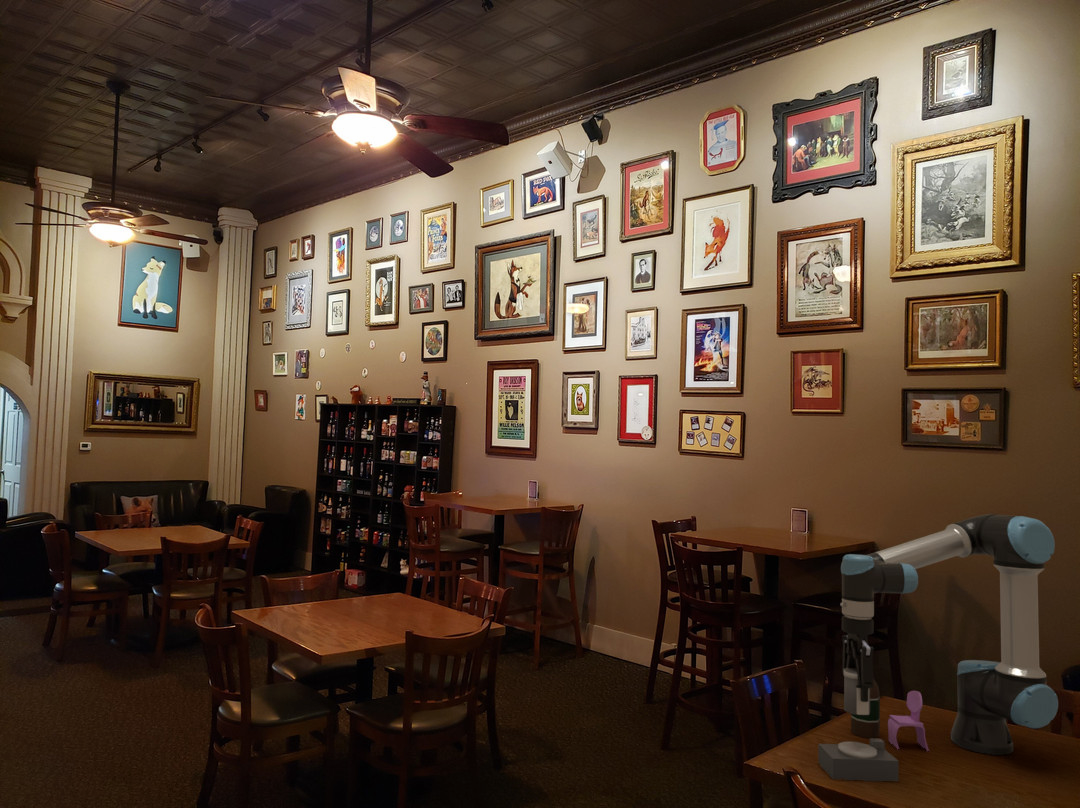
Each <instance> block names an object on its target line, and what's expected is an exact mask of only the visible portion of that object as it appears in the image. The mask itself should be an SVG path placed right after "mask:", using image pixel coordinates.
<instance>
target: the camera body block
mask: <svg viewBox="0 0 1080 808" xmlns="http://www.w3.org/2000/svg"><path fill="white" fill-rule="evenodd" d="M885 743H886V742H885V741H884V740H883V739H882V738H869V744H866V743H863V742H858V741H842V742H839V743H838V744H837V743H835V744H834V743H833V744H832V743H818V747H817V748H818V752H817V753H818V756H817V757H818V758H817V759H818V763H819V764H820V765H821V766H820V765H819V764H818V763H817V764H818V765H819V766H820V767H821V769H823V771H826V772H827V773H828V774H829V775H828V774H827V773H826V774H827V775H828V776H829V777H830V778H831V779H832V780H833V779H844V780H843V781H854V780H862V781H863V780H864V781H863V782H882V781H899V776H900V775H899V769H900V768H899V762H900V761H899V760H898V759H897V758H896V757H895V756H894V755H892V754H891V753H889V752H888V751H887V750H886V749H885V746H886V745H885ZM845 779H846V780H845ZM862 781H861V782H862Z"/></svg>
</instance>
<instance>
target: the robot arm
mask: <svg viewBox="0 0 1080 808" xmlns="http://www.w3.org/2000/svg"><path fill="white" fill-rule="evenodd" d="M1055 544H1056V543H1055V538H1054V535H1053V533H1052V531H1051V529H1050V528H1049V527H1048V526H1047V525H1046V524H1045V523H1044V522H1043V521H1041V520H1039V519H1037V518H1032V517H1028V516H1022V515H1020V516H1019V515H1006V514H997V513H987V514H980V515H976V516H973V517H970V518H969V517H968V518H966V519H964V520H959V521H957V522H954V523H951V524H948V525H946V527H945V529H944V530H940V531H938V532H935V533H932V534H928V535H926V536H923V537H919V538H916V539H913V540H908V541H906V542H904V543H900V544H898V545H894V546H890V547H888V548H885V549H881V550H879V551H874V552H872V553H869V554H854V553H853V554H852V553H849V554H845V555H844V556H843V557H842V562H841V565H840V573H841V602H840V607H841V613H842V617H841V630H842V631H843V633H847V635H846V634H845V635H842V666H841V668H842V669H841V670H842V671H841V672H842V674H843V675H844V669H845V668H857V677H858V685H855V686H856V688H857V714H859V715H869V688H873V679H874V659H873V658H874V657H873V656H874V646H870V645H869V642H868V636H870V635H871V636H872V634H874V624H875V623H874V622H875V621H874V619H873V617H874V616H875V601H874V597H875V595H874V594H901V595H903V594H912V593H914V592H915V591H916V589H917V588H918V585H919V574H918V572H917V569H920V568H923V567H927V566H930V565H932V564H936V563H939V562H943V561H945V560H948V559H951V558H955V557H959V558H966V557H967V558H968V557H970V556H977V555H983V556H991V557H992V563H993V565H992V566H994V568H996V570H997V571H999V590H1000V591H999V595H1000V597H999V598H1000V600H999V601H1000V604H999V605H1000V657H1001V658H1000V659H1001V661H1000V662H999V661H993V660H992V661H991V660H980V659H979V660H978V659H968V660H967V659H965V660H962V661H960V662H958V664H957V672H956V681H957V682H956V684H957V685H956V686H957V687H956V688H957V714H956V717H955V719H954V723H953V725H952V729H951V731H950V740H952V741H953V742H954V743H955V744H954V743H953V742H952V741H951V742H952V743H953V744H954V745H956V744H957V745H959V746H960V748H962V747H963V748H962V749H964V748H965V750H967V749H969V750H968V751H971V750H972V751H971V752H974V751H975V753H978V752H979V753H980V754H984V753H986V754H985V755H991V754H992V756H1005V755H1004V754H1007V755H1010V754H1009V753H1011V754H1013V753H1014V741H1013V739H1012V736H1011V732H1010V729H1009V727H1008V725H1007V721H1006V720H1009V721H1011V722H1013V723H1015V724H1017V725H1019V726H1022V727H1023V726H1024V727H1027V728H1030V729H1040V728H1043V727H1045V726H1047V725H1049V724H1050V723H1051V721H1053V720H1054V718H1055V717H1056V716H1057V712H1058V709H1059V699H1058V695H1057V694H1056V692H1055V690H1054V689H1053V688H1051V687H1050V686H1049V685H1047V674H1046V672H1044V670H1042V668H1041V666H1040V640H1039V639H1040V633H1039V631H1040V630H1039V629H1040V627H1039V584H1038V582H1039V581H1038V575H1040V573H1041V572H1043V571H1045V563H1046V562H1048V561H1049V560H1050V559H1051V558H1052V557H1051V556H1053V555H1054V553H1055V547H1056V546H1055ZM860 655H861V656H860ZM957 745H956V746H957ZM959 746H958V747H959ZM1012 752H1013V753H1012Z"/></svg>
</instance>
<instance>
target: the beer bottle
mask: <svg viewBox="0 0 1080 808" xmlns="http://www.w3.org/2000/svg"><path fill="white" fill-rule="evenodd" d="M860 656H861V655H860ZM880 697H881V695H880V688H879V685H878V683H877V682H876V681H875V678H873V688H870V714H869V715H856V714H851V713H850V729H851V730H850V731H851V733H852V734H853V735H855V736H856V735H857V736H856V737H859V736H860V737H859V738H863V737H866V738H865V739H870V738H872V739H878V737H879V736H880V730H881V727H880V726H881V724H880V723H881V720H880V719H881V718H880V717H881V715H880V713H881V712H880V711H881V710H880V708H881V705H880V704H881V702H880V700H881V698H880Z"/></svg>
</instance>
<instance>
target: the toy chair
mask: <svg viewBox="0 0 1080 808" xmlns="http://www.w3.org/2000/svg"><path fill="white" fill-rule="evenodd" d="M906 707H907V709H908V710H909V711H910V715H895V714H889V718H888V719H887V720H888V721H887V729H888V730H887V731H888V743H889V742H890V743H889V744H890V745H892V744H893V745H894V746H895V747H896V748H897V749H896V748H895V747H894V746H893V745H892V746H893V747H894V748H895V749H896V750H898V749H900V747H899V743H898V741H897V740H898V739H897V734H898V731H899V730H900V728H901V727H914V728H915V732H916V739H917V744H918V743H919V744H920V745H921V746H920V745H919V744H918V745H919V746H920V747H921V748H923V749H924V748H925V749H926V751H927V752H928V751H929V752H930V749H929V746H928V744H927V740H926V729H925V727H924V723H923V722H922V721H920V716H921V710H922V709H923V697H922V694H921V692H920V691H917V690H910V691H909V692H908V693H907V695H906ZM925 749H924V750H925Z"/></svg>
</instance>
